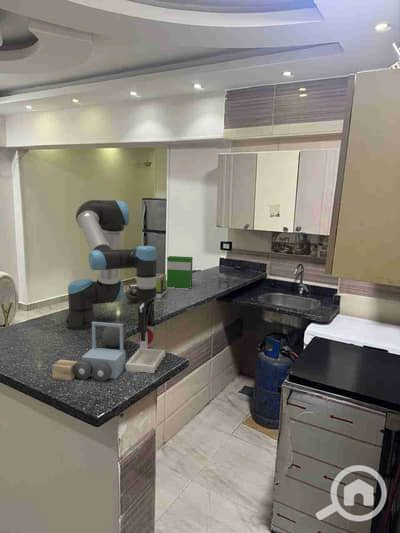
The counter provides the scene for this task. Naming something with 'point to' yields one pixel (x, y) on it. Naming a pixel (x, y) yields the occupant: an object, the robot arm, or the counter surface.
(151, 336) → the red rounded piece
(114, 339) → the decorative ball
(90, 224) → the robot arm
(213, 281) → the counter surface
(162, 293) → the tea box
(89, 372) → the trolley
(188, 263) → the hardback book
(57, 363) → the block
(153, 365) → the tray
